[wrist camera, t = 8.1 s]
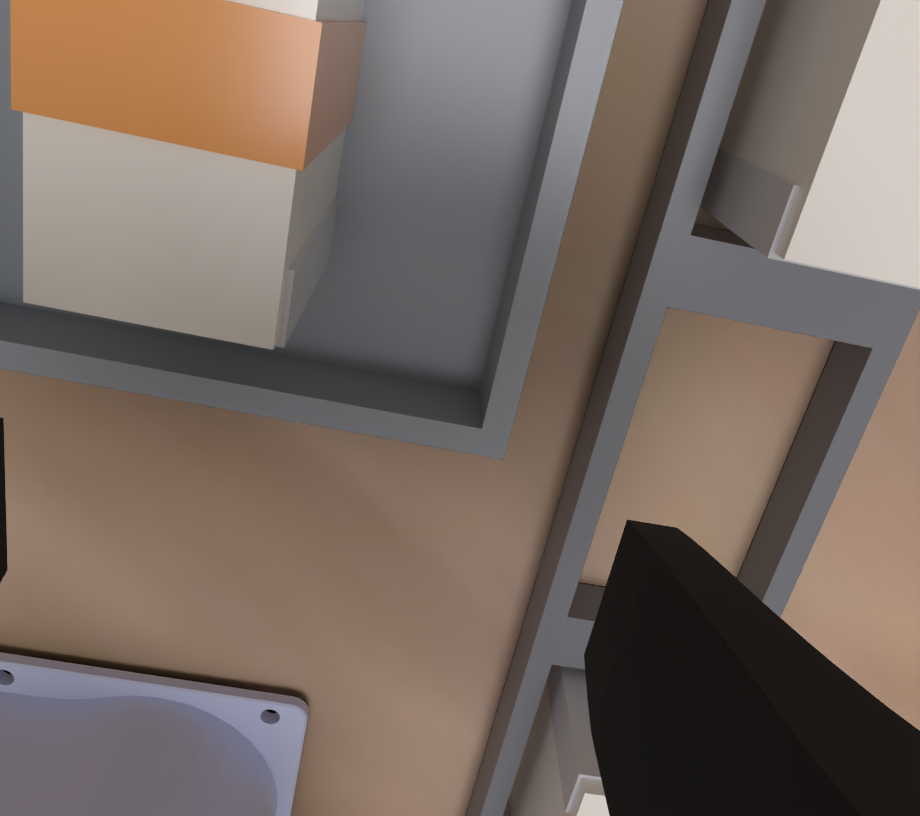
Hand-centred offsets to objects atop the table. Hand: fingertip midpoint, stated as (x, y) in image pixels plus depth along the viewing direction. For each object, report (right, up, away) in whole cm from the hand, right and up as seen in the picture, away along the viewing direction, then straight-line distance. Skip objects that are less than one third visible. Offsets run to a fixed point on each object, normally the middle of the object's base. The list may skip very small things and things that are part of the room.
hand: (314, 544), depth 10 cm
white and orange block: (-2, +8, +6) cm, 11 cm away
